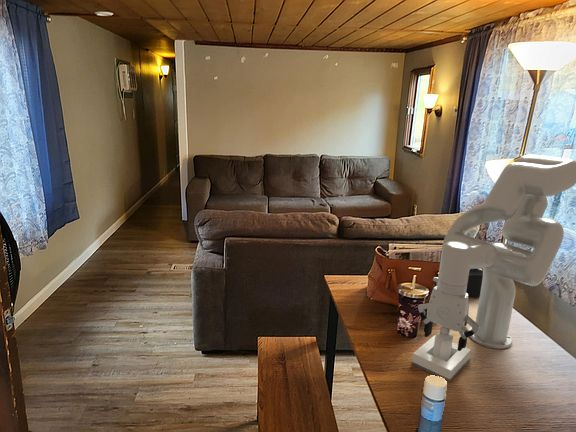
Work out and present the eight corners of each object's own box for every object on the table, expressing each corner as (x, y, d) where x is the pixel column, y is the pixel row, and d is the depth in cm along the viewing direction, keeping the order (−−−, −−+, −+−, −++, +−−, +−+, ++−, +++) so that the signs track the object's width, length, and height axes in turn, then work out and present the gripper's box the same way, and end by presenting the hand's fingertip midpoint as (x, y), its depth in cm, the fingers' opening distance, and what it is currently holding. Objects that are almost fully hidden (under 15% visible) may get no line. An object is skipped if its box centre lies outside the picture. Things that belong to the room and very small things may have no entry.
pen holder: (478, 289, 169) (481, 266, 167) (486, 299, 160) (490, 275, 158) (454, 287, 170) (457, 265, 168) (461, 298, 161) (465, 274, 159)
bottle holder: (433, 345, 129) (434, 334, 128) (469, 360, 122) (471, 349, 121) (411, 364, 119) (413, 353, 118) (449, 381, 112) (451, 370, 111)
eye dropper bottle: (454, 363, 118) (459, 325, 115) (434, 363, 118) (439, 325, 115) (447, 355, 122) (452, 317, 120) (428, 355, 122) (433, 317, 119)
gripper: (416, 280, 117) (409, 335, 122) (479, 301, 106) (469, 360, 110) (428, 273, 122) (421, 325, 127) (489, 292, 111) (479, 349, 116)
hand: (443, 341), depth 119 cm, fingers open, 9 cm apart
